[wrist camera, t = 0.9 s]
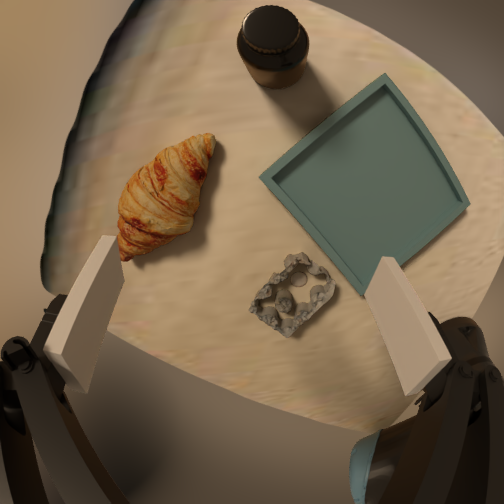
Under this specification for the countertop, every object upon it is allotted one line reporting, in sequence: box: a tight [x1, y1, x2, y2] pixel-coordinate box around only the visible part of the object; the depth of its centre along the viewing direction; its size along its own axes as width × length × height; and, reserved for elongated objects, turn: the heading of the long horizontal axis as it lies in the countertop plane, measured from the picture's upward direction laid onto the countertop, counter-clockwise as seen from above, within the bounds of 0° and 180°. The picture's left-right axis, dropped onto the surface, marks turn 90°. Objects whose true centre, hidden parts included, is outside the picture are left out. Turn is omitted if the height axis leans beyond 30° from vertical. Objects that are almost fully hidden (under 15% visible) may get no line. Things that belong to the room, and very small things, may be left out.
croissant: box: [117, 133, 216, 262], centre depth 34 cm, size 21×10×8 cm, turn 140°
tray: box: [259, 73, 470, 296], centre depth 32 cm, size 20×20×2 cm
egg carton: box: [249, 252, 336, 338], centre depth 38 cm, size 11×8×4 cm
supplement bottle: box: [237, 5, 309, 89], centre depth 23 cm, size 7×7×12 cm
